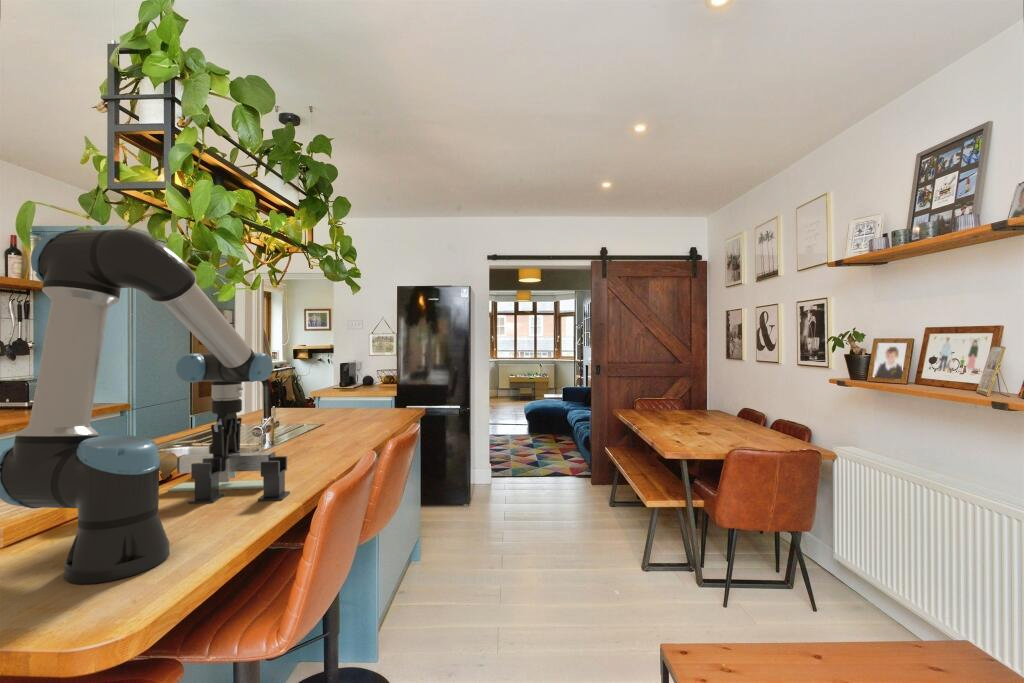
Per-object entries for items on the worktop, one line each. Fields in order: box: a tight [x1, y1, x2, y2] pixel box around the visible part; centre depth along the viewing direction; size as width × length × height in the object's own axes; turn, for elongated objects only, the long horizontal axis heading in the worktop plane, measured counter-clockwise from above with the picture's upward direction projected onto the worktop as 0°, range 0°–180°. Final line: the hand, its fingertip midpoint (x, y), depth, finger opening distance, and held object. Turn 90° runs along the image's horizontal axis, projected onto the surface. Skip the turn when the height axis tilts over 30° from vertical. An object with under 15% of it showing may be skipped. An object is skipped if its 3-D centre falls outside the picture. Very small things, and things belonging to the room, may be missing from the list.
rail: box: [176, 451, 276, 474], centre depth 139 cm, size 4×25×4 cm, turn 96°
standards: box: [188, 455, 291, 504], centre depth 128 cm, size 6×23×10 cm, turn 96°
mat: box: [167, 479, 263, 493], centre depth 139 cm, size 7×28×1 cm, turn 96°
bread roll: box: [158, 451, 178, 481], centre depth 146 cm, size 10×15×8 cm, turn 18°
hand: (227, 479), depth 139 cm, fingers closed on rail, 3 cm apart
